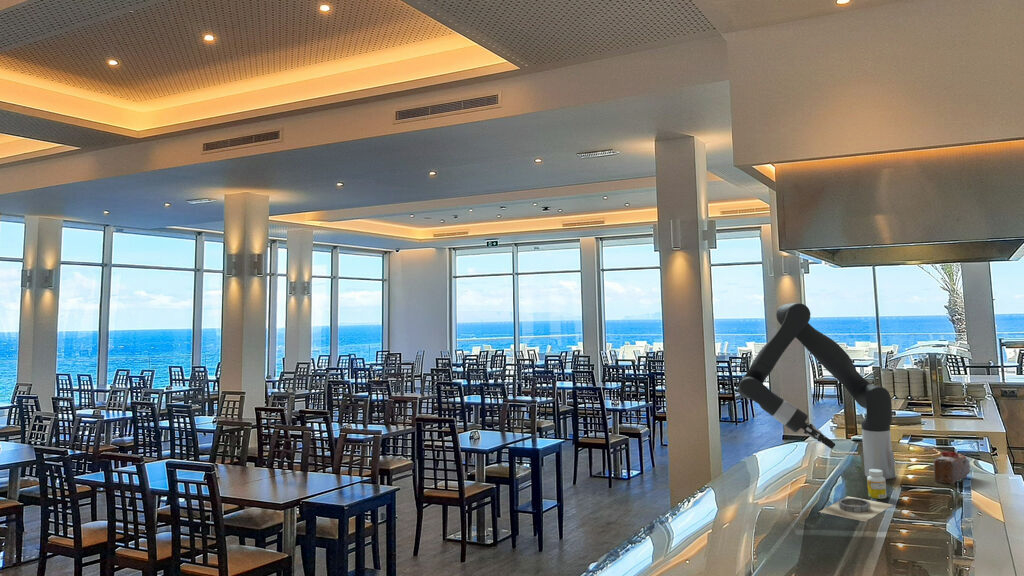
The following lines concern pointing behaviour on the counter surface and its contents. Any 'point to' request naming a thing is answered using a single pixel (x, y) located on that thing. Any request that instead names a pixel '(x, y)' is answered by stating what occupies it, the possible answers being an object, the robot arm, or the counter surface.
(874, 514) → the serving board
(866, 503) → the bottle collar
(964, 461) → the food item
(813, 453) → the counter surface
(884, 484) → the supplement bottle
